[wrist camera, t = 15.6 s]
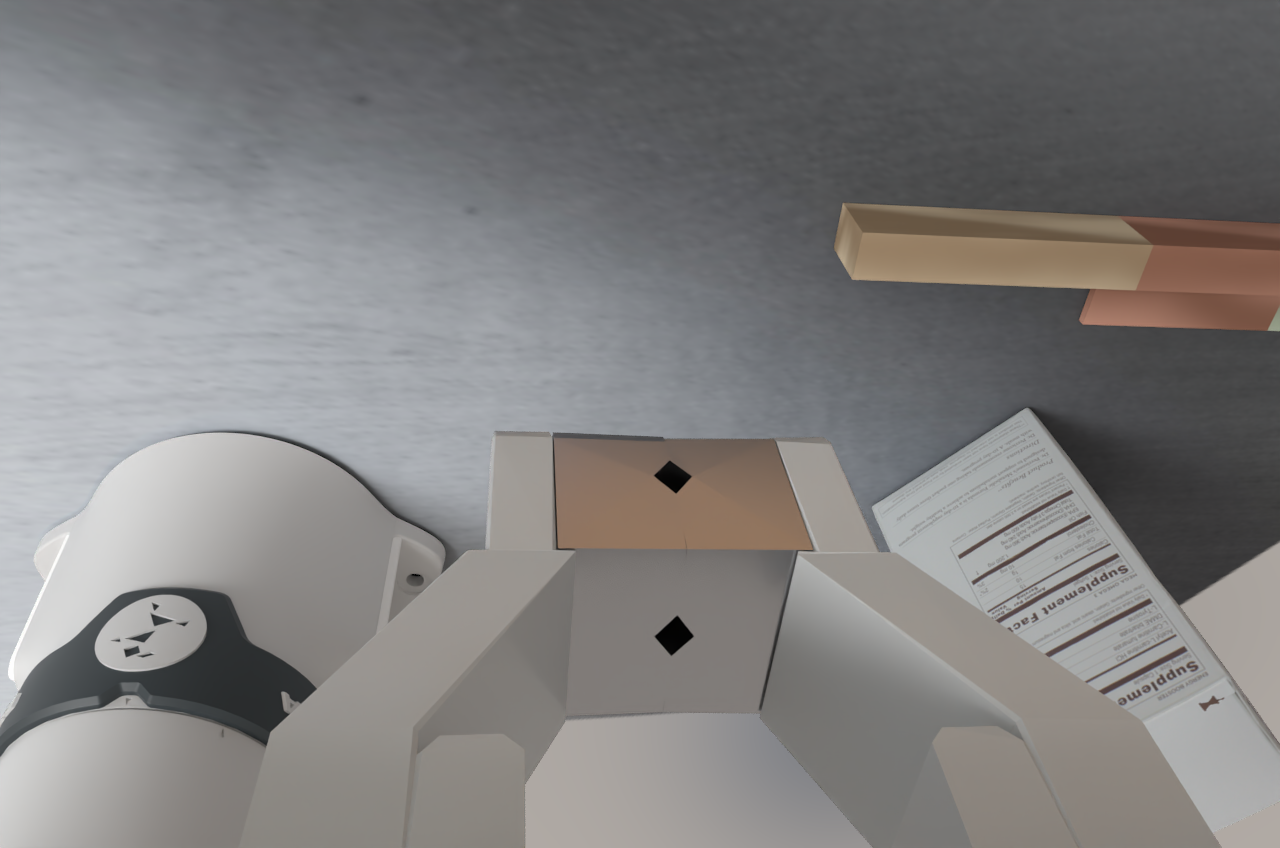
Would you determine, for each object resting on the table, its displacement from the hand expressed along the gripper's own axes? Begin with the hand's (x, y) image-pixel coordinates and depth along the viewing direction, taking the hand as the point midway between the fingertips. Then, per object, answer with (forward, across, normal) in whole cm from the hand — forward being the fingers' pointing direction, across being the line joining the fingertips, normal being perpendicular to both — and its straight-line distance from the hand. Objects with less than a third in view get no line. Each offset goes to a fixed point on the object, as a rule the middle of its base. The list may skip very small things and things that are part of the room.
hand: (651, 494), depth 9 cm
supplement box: (+31, +23, -24) cm, 46 cm away
